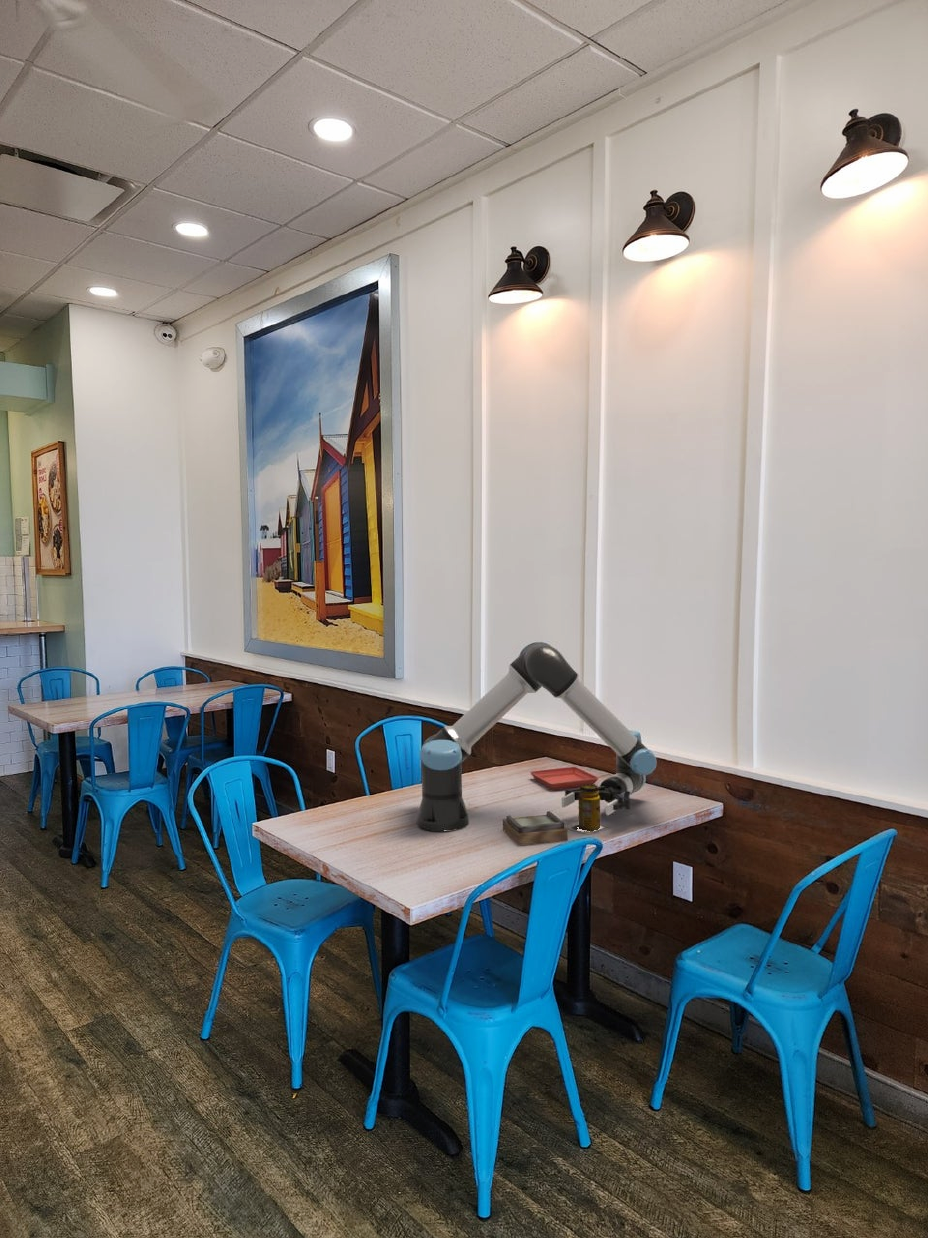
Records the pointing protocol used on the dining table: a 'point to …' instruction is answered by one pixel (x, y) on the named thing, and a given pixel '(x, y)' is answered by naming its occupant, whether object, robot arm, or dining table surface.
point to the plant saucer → (564, 778)
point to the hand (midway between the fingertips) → (584, 806)
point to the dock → (535, 829)
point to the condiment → (588, 809)
